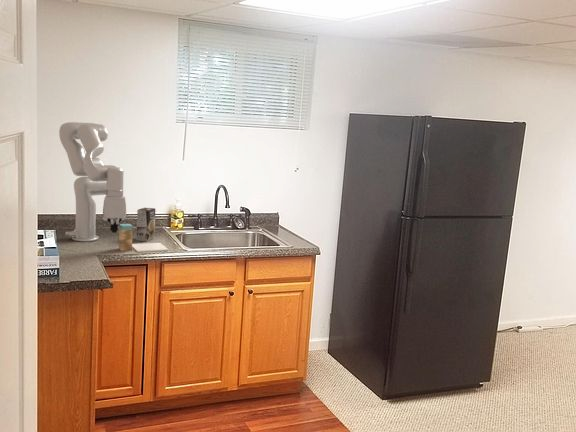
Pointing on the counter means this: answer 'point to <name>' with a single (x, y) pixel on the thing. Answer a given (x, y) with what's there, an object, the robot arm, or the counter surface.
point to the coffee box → (145, 224)
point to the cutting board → (149, 247)
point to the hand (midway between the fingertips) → (114, 232)
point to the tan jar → (125, 237)
